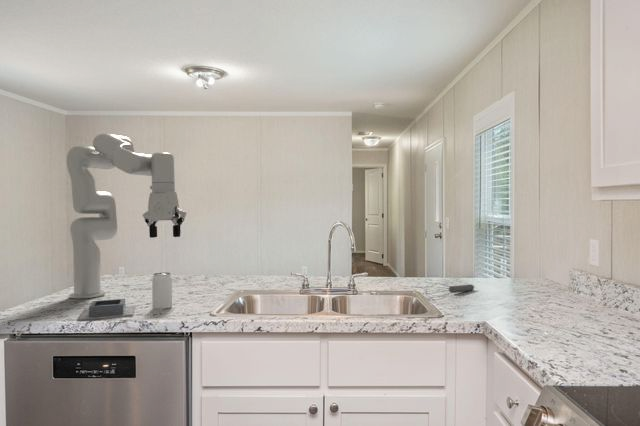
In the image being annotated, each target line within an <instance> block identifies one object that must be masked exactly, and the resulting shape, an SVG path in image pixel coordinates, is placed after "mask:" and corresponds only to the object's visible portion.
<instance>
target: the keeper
mask: <svg viewBox="0 0 640 426" xmlns="http://www.w3.org/2000/svg"><path fill="white" fill-rule="evenodd" d="M135 309H136V305H126V298H113V299H103V300H102V299H101V300H93V301H92V302H91V304H90V305H89V306H88V308H84V309H83V310H82V312H81V313H80V314H79V316H78V317H77V318H76V322H78V321H79V322H80V321H91V320H103V319H114V318H124V317H125V318H126V317H134V314H135Z"/></svg>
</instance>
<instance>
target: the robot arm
mask: <svg viewBox="0 0 640 426" xmlns="http://www.w3.org/2000/svg"><path fill="white" fill-rule="evenodd" d="M65 163H66V168H67V171H68V174H69V178H70V182H71V184H70V185H71V187H70V188H71V195H72V196H71V197H72V206H73V210H74V211H75V212H76V213H78V214H81V215H98V216H99V217H98V216H97V217H96V216H88V217H87V216H86V217H85V216H84V217H79V218H75V219H74V220H73V221H72V222H71V223H70V227H69V231H70V235H71V241H72V242H71V243H72V251H73V253H72V255H73V257H72V258H73V292H72V293H69V295H68V296H69V298H71V299H76V300H77V299H80V300H81V299H91V298H99V297H102V296H105V295H106V291H105V290H101V288H102V287H101V284H102V282H101V281H102V280H101V279H102V278H101V250H100V247H99V246H98V244H97V242H96V241H107V240H112V239H113V238H115V237H116V235H117V233H118V219H117V218H118V217H117V206H116V205H117V204H116V200H115V197H114V196H113V194H112V193H110V192H109V191H103V190H97V188H96V179H95V176H93V174H92V172H91V171H90V170H89V168H90V169H91V168H93V169H98V170H99V169H101V170H112V169H114V168H117V169H118V170H120V171H123V172H124V173H126V174H129V175H134V176H135V175H136V176H147V177H151V185H150V186H149V189H150V190H151V192H150V193H149V196H148V203H147V211H145V212H144V213H143V214H142V217H143V220H144V222H145V223H146V224H147V226H148V227H149V232H148V233H149V238H151V239H152V238H153V239H154V238H157V237H158V226H157V223H158V222H159V221H171V222H172V224H173V225H172V237H174V238H180V237H181V233H182V232H181V226H182V225H183V222H184V221H185V219H186V216H187V212H186V211H184V210H183V209H181V208H180V204H179V199H178V195H177V192H176V188H175V158H174V155H173V154H172V153H169V152H154V153H152V154H145V153H138V152H135V148H134V144H133V141H132V140H131V139H130V138H129V137H127V136H124V135H118V134H112V133H100V134H98V135H97V134H96V136H95V137H94V138H93V140H92V146H89V145H75V146H72V147H71V148H70V149H69V151H68V152H67V153H66V162H65Z"/></svg>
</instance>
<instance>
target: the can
mask: <svg viewBox="0 0 640 426" xmlns="http://www.w3.org/2000/svg"><path fill="white" fill-rule="evenodd" d="M172 278H173V277H172V276H171V272H156V273H153V276H152V278H151V280H152V281H151V284H152V285H151V286H152V287H151V288H152V289H151V290H152V291H151V292H152V293H151V294H152V309H153V310H156V309H162V310H167V309H166V308H169V309H171V308H172V307H173V279H172Z"/></svg>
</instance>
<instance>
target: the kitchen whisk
mask: <svg viewBox="0 0 640 426" xmlns="http://www.w3.org/2000/svg"><path fill="white" fill-rule="evenodd" d="M430 284H431V282H430V283H428V285H430ZM428 285H426V286H424V289H425V290H424V289H423V291H424V293H423V292H422V294H423V295H426V296H425V297H426V298H425V299H428V300H432V301H434V298H433V299H432V298H431V297H430V296H429V295H431V296H433V297H436V295H434V293H437V294H438V291H440V290H441V289H443V287H444V286H445V287H446V288H447V289H446V293H444V294H442V295H438V298H440V297H442V299H444V298H445V297H447V296H449V295H450V294H456V293H464V292H470V291H473V290H475V287H476V286H475V285H474V284H472V283H471V284H460V285H459V284H458V285H450V286H449V285H447V284H444V283H443V284H442V283H440V285H442V286H443V287H442V286H441V287H440V286H437V288H438V289H437V291H435V289H433V290H429V289H427V288H428ZM435 285H439V282H435V283H433V285H431V287H434V286H435ZM428 290H429V291H428ZM434 291H435V292H434ZM428 292H429V293H428ZM431 292H433V294H432V293H431ZM443 292H444V290H441V291H440V293H443Z"/></svg>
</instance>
